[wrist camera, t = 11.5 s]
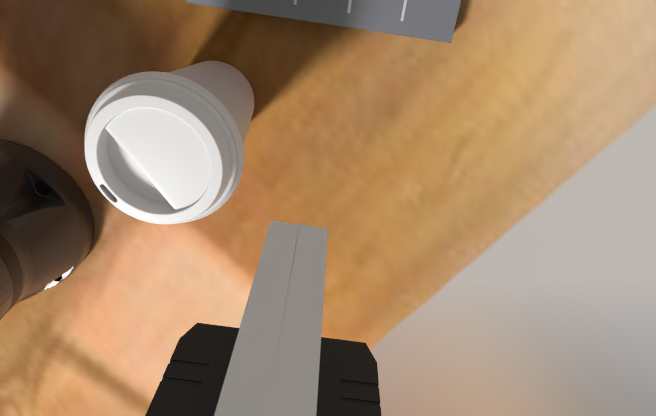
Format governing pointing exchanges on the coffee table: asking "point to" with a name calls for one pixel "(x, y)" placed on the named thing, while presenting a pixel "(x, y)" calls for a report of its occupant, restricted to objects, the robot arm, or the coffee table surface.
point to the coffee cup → (170, 141)
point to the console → (360, 14)
